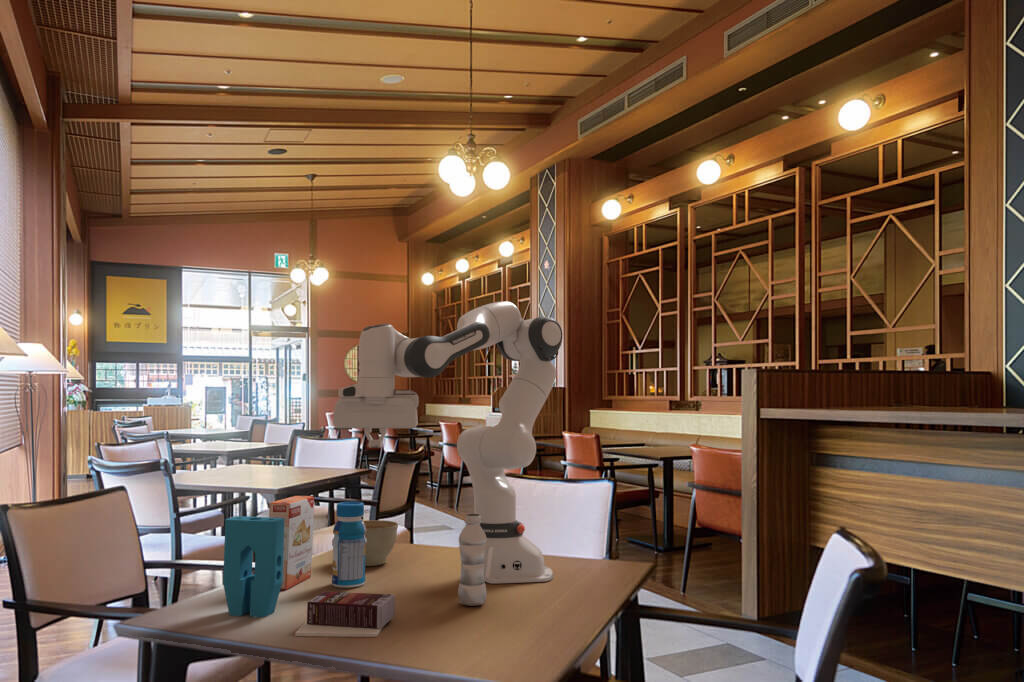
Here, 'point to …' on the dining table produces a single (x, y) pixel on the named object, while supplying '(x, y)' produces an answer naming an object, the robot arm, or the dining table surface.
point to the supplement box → (351, 609)
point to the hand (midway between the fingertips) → (375, 447)
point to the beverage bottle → (349, 546)
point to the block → (238, 552)
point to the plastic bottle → (472, 562)
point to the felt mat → (336, 631)
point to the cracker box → (295, 537)
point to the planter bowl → (379, 540)
